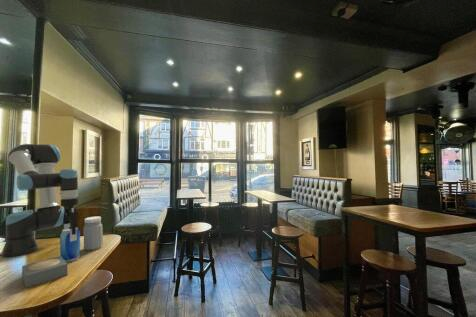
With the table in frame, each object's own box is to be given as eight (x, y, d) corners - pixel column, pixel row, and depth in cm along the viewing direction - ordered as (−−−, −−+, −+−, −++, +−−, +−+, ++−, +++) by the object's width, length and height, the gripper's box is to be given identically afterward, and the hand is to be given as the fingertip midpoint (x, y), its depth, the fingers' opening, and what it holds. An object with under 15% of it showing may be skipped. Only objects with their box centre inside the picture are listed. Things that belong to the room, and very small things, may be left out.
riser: (22, 277, 103) (22, 265, 103) (61, 266, 113) (60, 255, 113) (25, 288, 93) (25, 275, 93) (67, 274, 103) (67, 263, 104)
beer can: (69, 263, 116) (69, 231, 116) (56, 262, 117) (55, 231, 118) (84, 256, 124) (83, 227, 124) (71, 255, 126) (70, 226, 126)
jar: (81, 252, 130) (81, 220, 130) (85, 246, 139) (85, 217, 139) (101, 249, 134) (101, 218, 134) (104, 243, 143) (103, 215, 143)
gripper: (56, 197, 127) (56, 235, 126) (65, 201, 110) (66, 245, 109) (72, 195, 132) (73, 232, 132) (84, 198, 115) (85, 240, 115)
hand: (70, 238), depth 121 cm, fingers open, 13 cm apart
